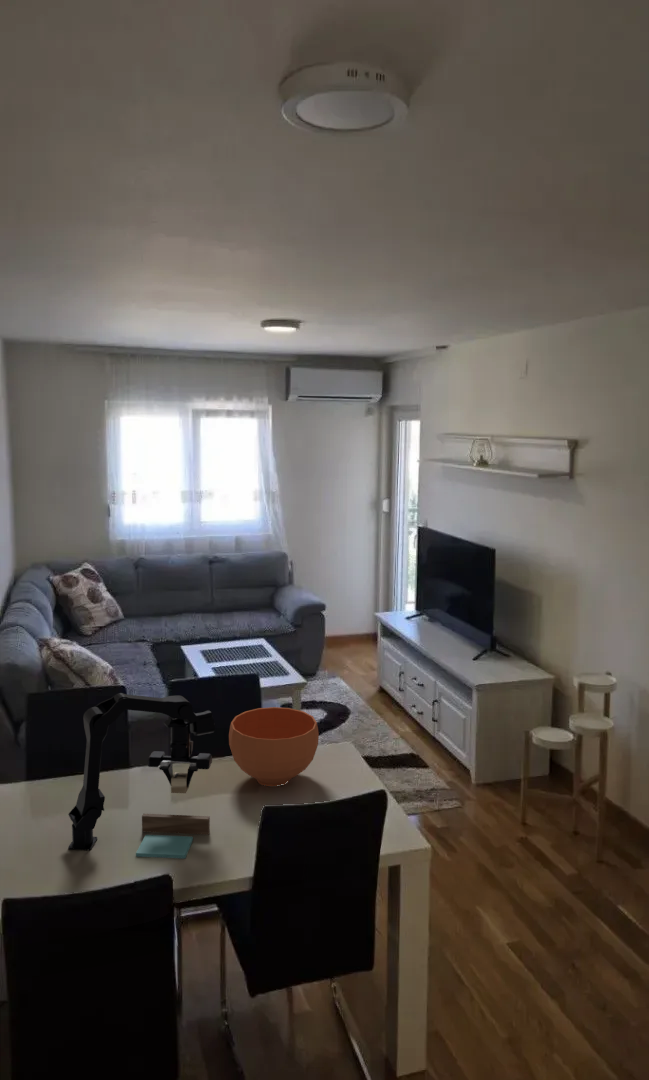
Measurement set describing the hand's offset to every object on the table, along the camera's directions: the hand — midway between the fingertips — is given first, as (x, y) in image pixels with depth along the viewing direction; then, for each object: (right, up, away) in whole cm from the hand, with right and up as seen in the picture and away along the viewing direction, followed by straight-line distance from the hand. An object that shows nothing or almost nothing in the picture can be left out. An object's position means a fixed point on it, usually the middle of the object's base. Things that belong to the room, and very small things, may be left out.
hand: (180, 786), depth 240 cm
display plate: (-2, -13, -15) cm, 20 cm away
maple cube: (0, -1, 0) cm, 1 cm away
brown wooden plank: (0, -12, -6) cm, 13 cm away
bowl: (+27, -7, +29) cm, 40 cm away
